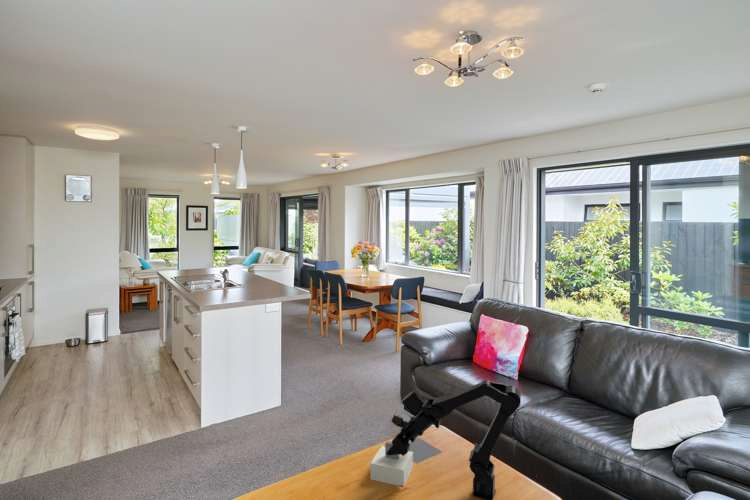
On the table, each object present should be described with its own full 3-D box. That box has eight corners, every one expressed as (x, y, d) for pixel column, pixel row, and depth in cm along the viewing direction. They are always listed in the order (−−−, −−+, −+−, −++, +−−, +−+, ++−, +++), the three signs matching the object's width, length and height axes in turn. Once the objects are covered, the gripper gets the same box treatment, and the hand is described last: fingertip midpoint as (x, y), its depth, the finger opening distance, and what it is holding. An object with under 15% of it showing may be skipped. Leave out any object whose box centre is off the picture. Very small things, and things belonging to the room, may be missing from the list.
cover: (412, 467, 154) (413, 438, 153) (403, 486, 142) (404, 455, 141) (381, 460, 158) (381, 432, 157) (370, 479, 146) (370, 448, 146)
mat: (442, 452, 164) (442, 451, 164) (416, 464, 156) (416, 463, 156) (418, 438, 175) (418, 437, 175) (393, 448, 167) (394, 447, 167)
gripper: (411, 396, 156) (384, 419, 160) (397, 416, 138) (367, 442, 142) (431, 419, 153) (403, 442, 158) (420, 443, 136) (388, 468, 140)
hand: (391, 447), depth 150 cm, fingers open, 9 cm apart
